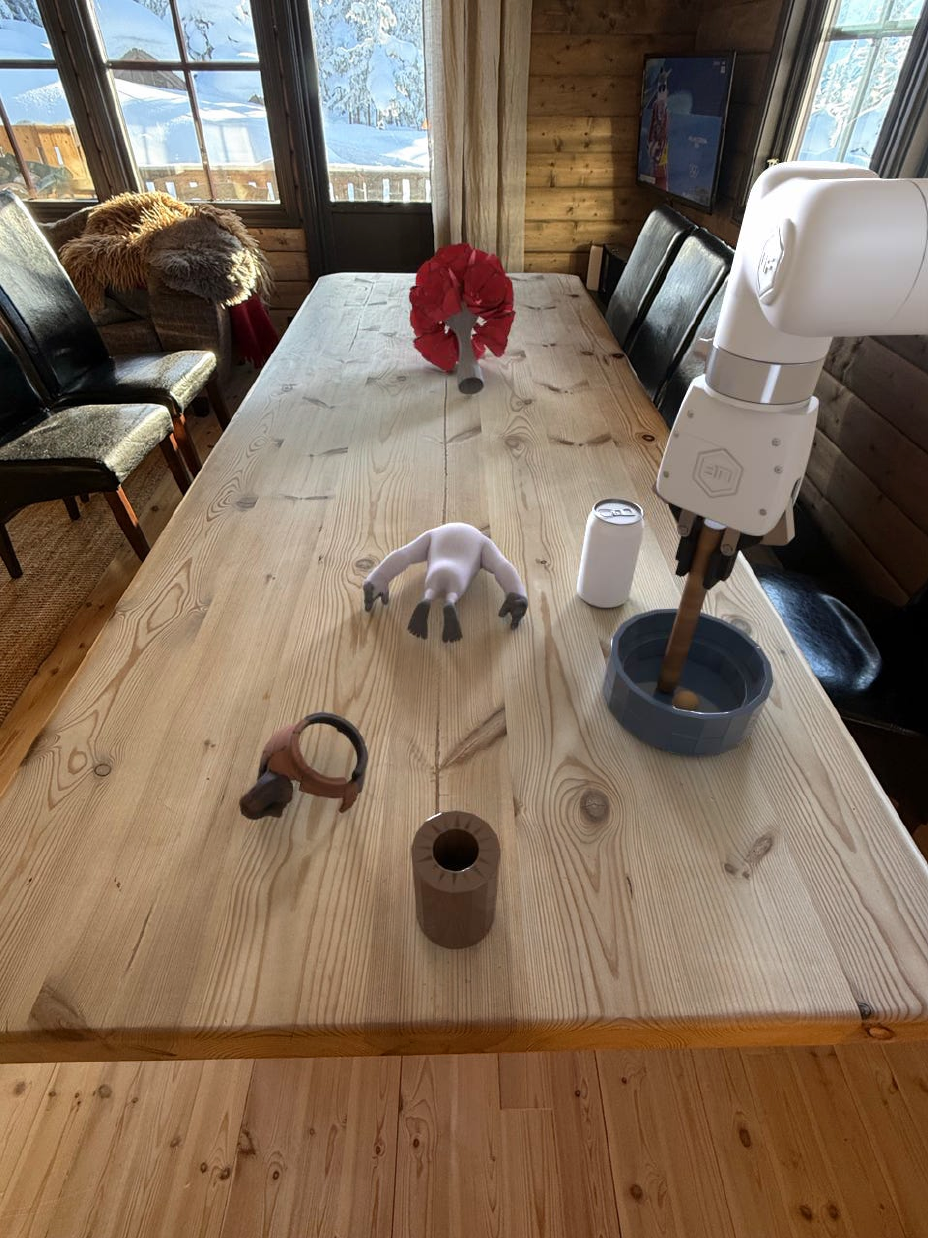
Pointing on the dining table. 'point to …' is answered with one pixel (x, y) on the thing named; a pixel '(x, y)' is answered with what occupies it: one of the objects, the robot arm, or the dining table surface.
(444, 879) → the holder
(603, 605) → the can
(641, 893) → the dining table surface
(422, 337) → the bouquet
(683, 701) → the cork ball
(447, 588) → the yeti figurine
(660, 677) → the stick
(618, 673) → the bowl
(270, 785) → the broken pottery
